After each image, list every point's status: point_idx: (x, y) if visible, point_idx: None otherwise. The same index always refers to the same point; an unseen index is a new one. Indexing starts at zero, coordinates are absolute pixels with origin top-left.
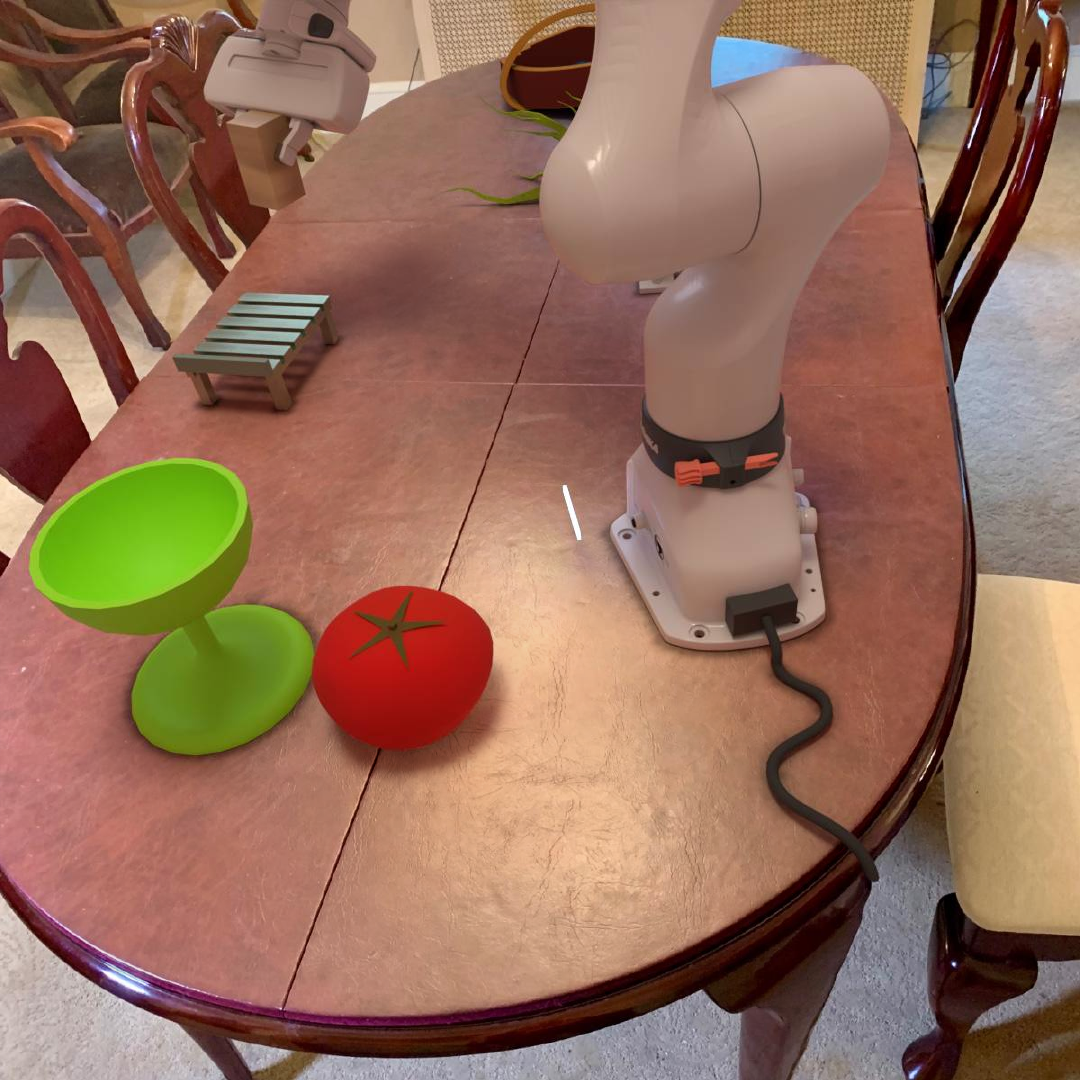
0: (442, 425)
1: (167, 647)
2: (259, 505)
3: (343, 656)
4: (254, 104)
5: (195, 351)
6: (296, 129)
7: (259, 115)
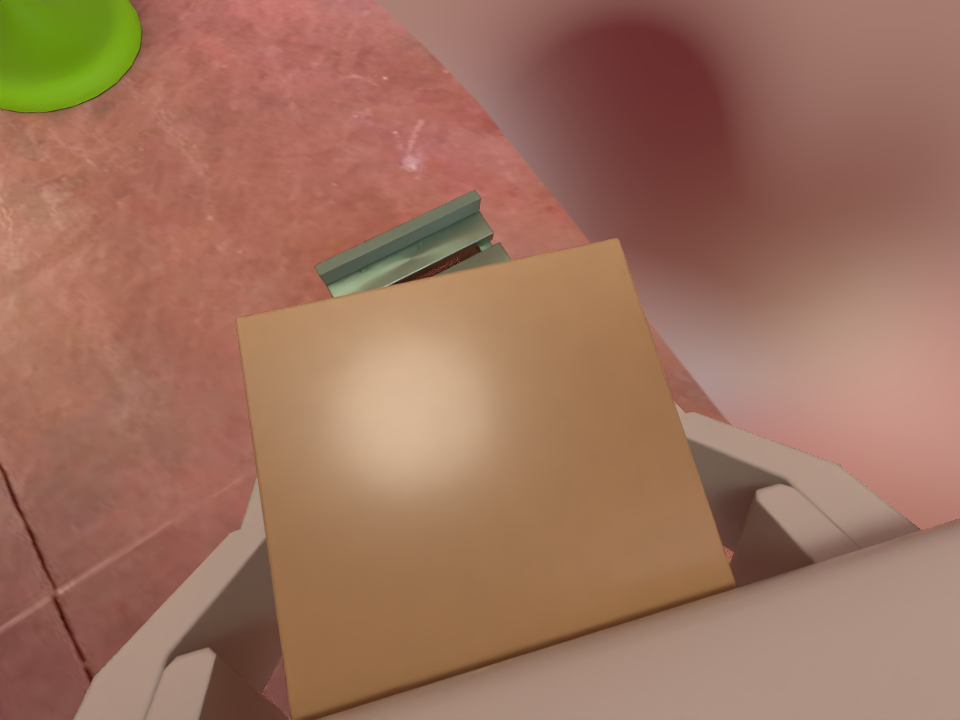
0: (102, 435)
1: (108, 13)
2: (221, 188)
3: None
4: (714, 632)
5: (495, 244)
6: (110, 667)
7: (499, 535)
